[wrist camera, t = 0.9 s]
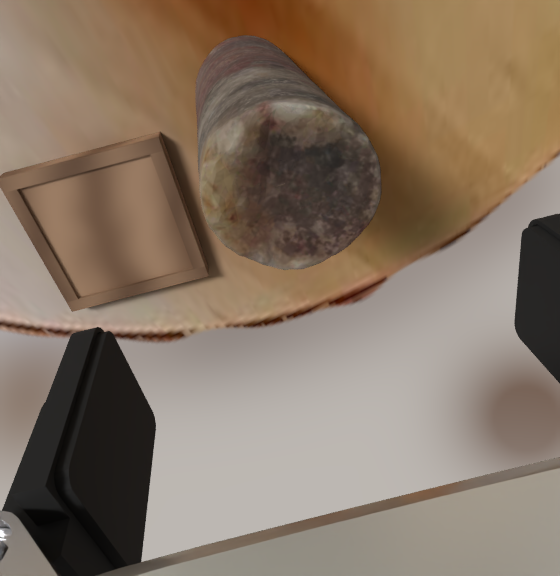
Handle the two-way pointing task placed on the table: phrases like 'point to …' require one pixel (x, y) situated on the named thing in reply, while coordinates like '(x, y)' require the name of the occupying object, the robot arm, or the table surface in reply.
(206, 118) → the grey brown rough cylinder
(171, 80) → the table surface
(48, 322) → the table surface
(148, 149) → the picture frame
